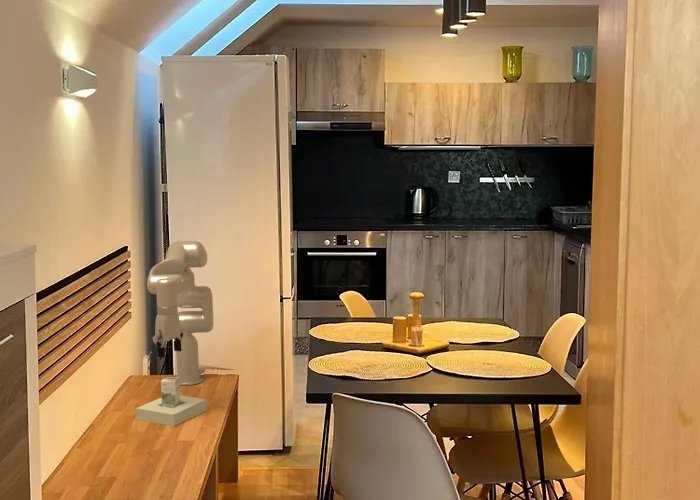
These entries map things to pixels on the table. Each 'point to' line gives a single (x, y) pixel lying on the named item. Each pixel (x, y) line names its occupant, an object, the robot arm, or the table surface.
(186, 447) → the table surface
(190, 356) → the robot arm
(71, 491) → the table surface
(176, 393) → the syrup box
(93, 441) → the table surface
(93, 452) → the table surface
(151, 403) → the socket holder
